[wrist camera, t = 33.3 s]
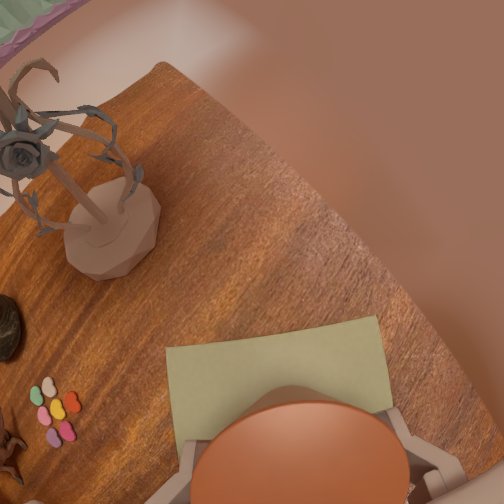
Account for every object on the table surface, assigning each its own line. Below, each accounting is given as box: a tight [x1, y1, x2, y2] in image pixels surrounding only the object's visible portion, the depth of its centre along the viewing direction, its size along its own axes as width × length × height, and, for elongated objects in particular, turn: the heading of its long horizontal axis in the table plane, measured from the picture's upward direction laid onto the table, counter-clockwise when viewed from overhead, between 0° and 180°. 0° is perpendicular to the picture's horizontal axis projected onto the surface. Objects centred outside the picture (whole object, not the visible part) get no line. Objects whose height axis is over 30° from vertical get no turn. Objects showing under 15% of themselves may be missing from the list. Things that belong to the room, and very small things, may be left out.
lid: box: [165, 315, 393, 465], centre depth 15 cm, size 13×12×1 cm
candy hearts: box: [30, 377, 81, 448], centre depth 23 cm, size 8×8×1 cm
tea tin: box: [190, 386, 410, 504], centre depth 10 cm, size 5×5×11 cm
